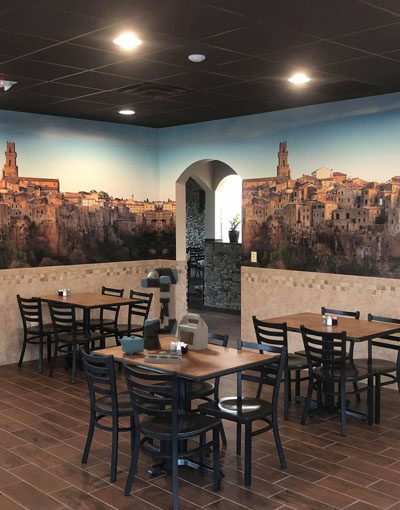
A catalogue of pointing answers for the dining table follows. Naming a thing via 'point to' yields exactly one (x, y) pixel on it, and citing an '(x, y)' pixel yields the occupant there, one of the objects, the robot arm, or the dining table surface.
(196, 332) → the gable box
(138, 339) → the teapot
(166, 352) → the sage green button
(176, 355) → the slate blue button
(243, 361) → the dining table surface
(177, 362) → the button board
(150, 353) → the terracotta button
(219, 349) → the dining table surface
